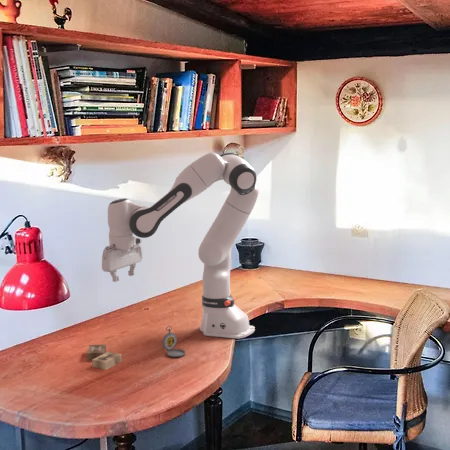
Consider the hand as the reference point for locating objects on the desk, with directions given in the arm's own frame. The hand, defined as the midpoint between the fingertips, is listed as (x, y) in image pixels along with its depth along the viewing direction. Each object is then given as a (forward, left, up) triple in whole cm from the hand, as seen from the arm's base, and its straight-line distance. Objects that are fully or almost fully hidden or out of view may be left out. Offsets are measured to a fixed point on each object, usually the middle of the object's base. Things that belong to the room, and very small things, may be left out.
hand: (123, 278), depth 233 cm
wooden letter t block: (-7, +15, -25) cm, 30 cm away
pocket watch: (-22, 0, -26) cm, 34 cm away
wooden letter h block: (+5, +11, -25) cm, 28 cm away
